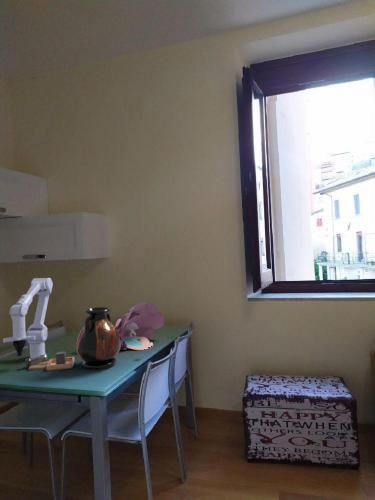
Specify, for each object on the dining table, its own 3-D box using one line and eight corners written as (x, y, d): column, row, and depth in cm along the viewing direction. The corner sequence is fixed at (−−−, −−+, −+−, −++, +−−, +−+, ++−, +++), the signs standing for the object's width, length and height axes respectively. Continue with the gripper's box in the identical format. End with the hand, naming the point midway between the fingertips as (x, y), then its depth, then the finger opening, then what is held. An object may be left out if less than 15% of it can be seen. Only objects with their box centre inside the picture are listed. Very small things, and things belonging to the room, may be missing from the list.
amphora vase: (94, 357, 187) (92, 305, 187) (129, 360, 179) (127, 306, 179) (67, 370, 167) (65, 312, 167) (105, 374, 159) (102, 313, 159)
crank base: (33, 363, 180) (33, 361, 180) (49, 361, 182) (49, 359, 182) (28, 370, 169) (27, 368, 169) (45, 368, 170) (45, 366, 170)
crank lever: (43, 359, 183) (43, 352, 183) (48, 360, 181) (48, 353, 181) (23, 366, 172) (23, 359, 172) (28, 367, 171) (28, 360, 171)
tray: (50, 363, 178) (50, 358, 178) (74, 361, 181) (74, 356, 181) (46, 371, 167) (46, 365, 167) (71, 368, 169) (71, 363, 169)
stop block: (57, 364, 175) (57, 352, 175) (65, 363, 176) (65, 351, 176) (56, 366, 172) (55, 354, 172) (64, 365, 172) (64, 353, 172)
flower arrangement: (138, 363, 188) (144, 314, 184) (100, 353, 195) (105, 305, 191) (162, 341, 222) (167, 298, 217) (129, 332, 228) (133, 291, 224)
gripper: (0, 331, 169) (1, 359, 169) (32, 328, 172) (33, 356, 172) (5, 328, 176) (6, 355, 175) (35, 326, 179) (36, 352, 178)
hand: (20, 355), depth 174 cm, fingers closed
